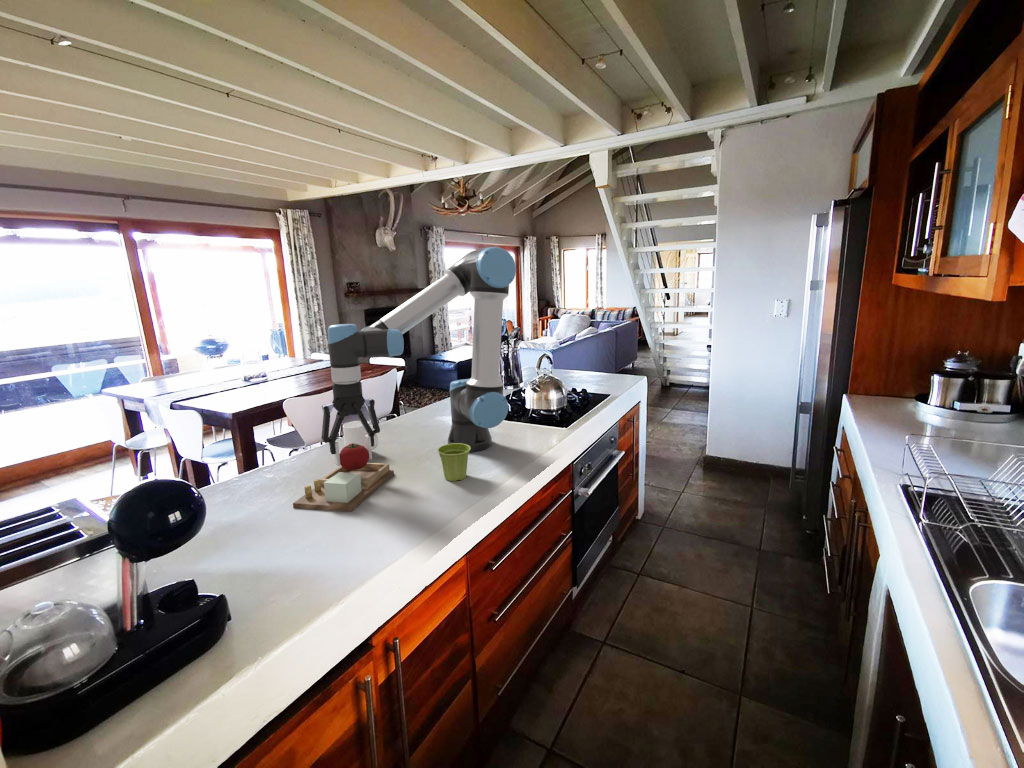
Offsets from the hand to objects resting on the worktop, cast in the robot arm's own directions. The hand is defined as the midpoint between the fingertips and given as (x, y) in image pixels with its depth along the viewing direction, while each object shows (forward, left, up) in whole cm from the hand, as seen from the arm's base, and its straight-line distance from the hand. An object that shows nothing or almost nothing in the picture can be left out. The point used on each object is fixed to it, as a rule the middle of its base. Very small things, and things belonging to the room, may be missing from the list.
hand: (353, 460), depth 132 cm
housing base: (0, +5, -6) cm, 8 cm away
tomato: (0, 0, -2) cm, 2 cm away
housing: (-3, +11, -5) cm, 13 cm away
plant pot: (-27, -7, -7) cm, 29 cm away
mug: (+10, -22, -7) cm, 25 cm away
